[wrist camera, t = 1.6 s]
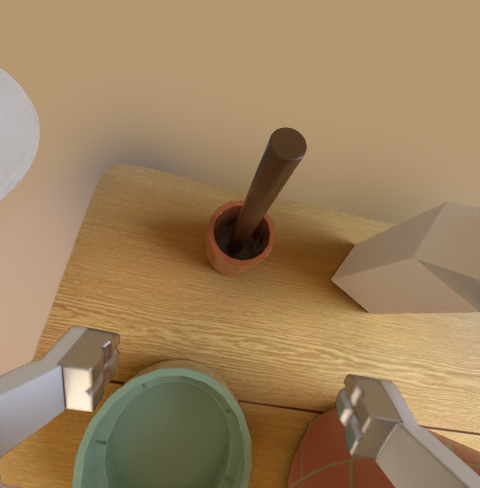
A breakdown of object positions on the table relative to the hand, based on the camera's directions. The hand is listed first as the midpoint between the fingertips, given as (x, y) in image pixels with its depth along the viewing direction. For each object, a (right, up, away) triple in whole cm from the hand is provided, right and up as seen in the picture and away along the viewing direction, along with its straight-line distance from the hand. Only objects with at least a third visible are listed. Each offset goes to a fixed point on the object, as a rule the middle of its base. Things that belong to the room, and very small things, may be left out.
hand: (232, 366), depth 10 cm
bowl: (-7, -17, +20) cm, 27 cm away
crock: (-1, +4, +26) cm, 27 cm away
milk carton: (+18, 0, +28) cm, 33 cm away
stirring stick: (-1, +4, +26) cm, 26 cm away
